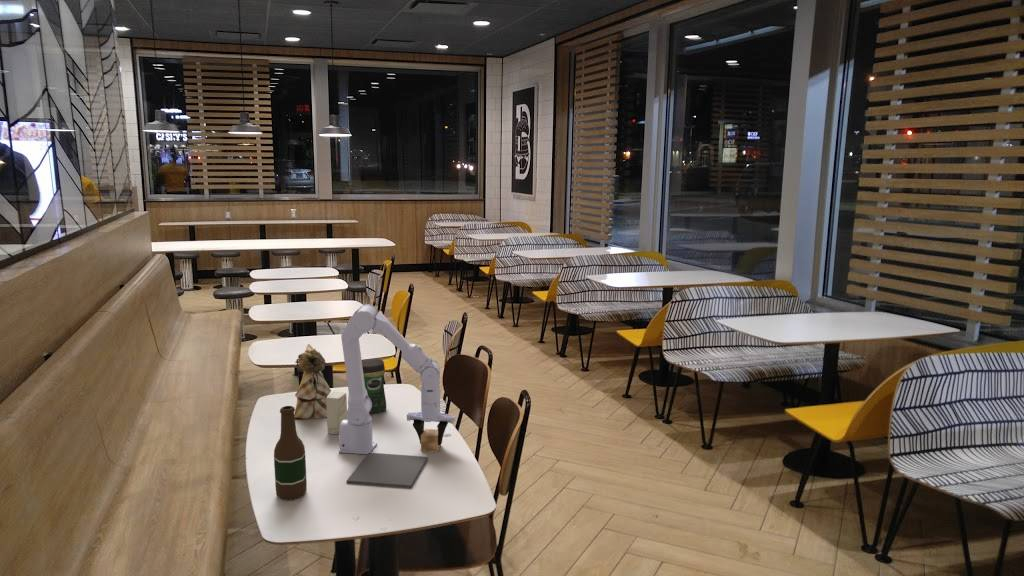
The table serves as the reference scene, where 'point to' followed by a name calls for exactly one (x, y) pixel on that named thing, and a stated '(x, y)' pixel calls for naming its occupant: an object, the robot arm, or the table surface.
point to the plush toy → (311, 386)
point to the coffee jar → (375, 383)
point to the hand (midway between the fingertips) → (431, 443)
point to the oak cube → (429, 440)
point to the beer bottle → (289, 459)
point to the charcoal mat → (388, 470)
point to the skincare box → (336, 411)
